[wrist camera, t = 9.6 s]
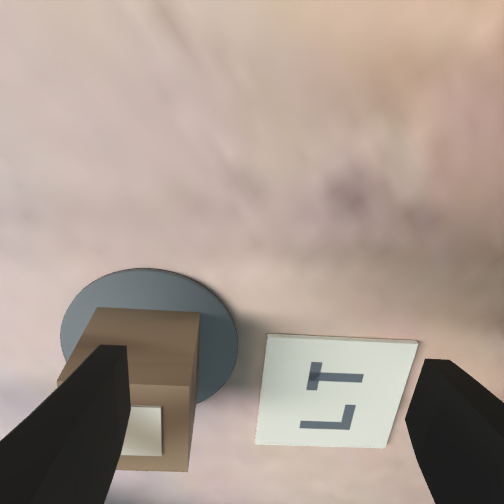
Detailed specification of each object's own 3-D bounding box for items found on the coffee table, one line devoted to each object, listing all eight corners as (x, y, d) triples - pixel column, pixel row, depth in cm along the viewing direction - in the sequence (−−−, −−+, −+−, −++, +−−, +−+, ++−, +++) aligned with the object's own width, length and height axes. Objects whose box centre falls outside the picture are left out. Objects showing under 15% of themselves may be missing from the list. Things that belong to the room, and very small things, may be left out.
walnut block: (197, 388, 23) (187, 474, 18) (104, 384, 22) (70, 470, 18) (200, 312, 21) (189, 388, 16) (97, 306, 20) (55, 382, 16)
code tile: (383, 444, 26) (385, 448, 25) (254, 440, 25) (254, 444, 25) (416, 340, 22) (418, 344, 22) (267, 333, 22) (267, 337, 21)
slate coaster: (232, 409, 24) (232, 414, 24) (73, 403, 23) (70, 409, 23) (243, 273, 20) (243, 277, 20) (52, 263, 20) (48, 267, 19)
